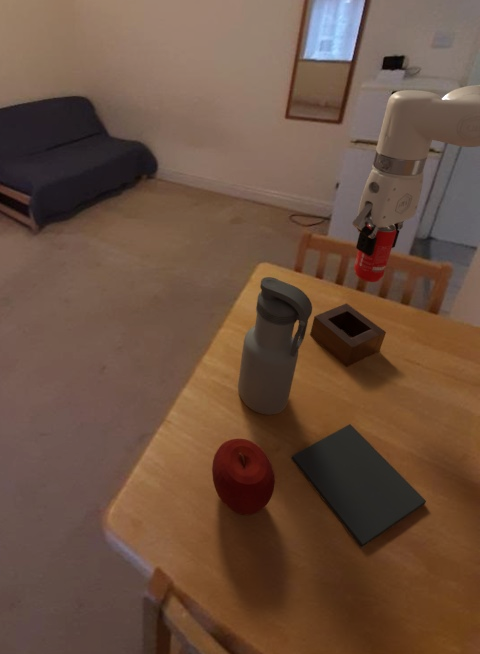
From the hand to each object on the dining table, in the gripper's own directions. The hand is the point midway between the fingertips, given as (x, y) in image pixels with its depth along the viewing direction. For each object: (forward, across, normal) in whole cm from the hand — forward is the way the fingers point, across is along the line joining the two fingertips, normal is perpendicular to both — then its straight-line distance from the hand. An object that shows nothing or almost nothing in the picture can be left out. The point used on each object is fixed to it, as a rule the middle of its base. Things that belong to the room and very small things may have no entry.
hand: (375, 247), depth 79 cm
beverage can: (+7, 0, 0) cm, 7 cm away
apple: (+28, -40, -14) cm, 51 cm away
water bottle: (+28, -25, -1) cm, 38 cm away
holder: (+28, +1, +2) cm, 28 cm away
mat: (+28, -22, -20) cm, 41 cm away
